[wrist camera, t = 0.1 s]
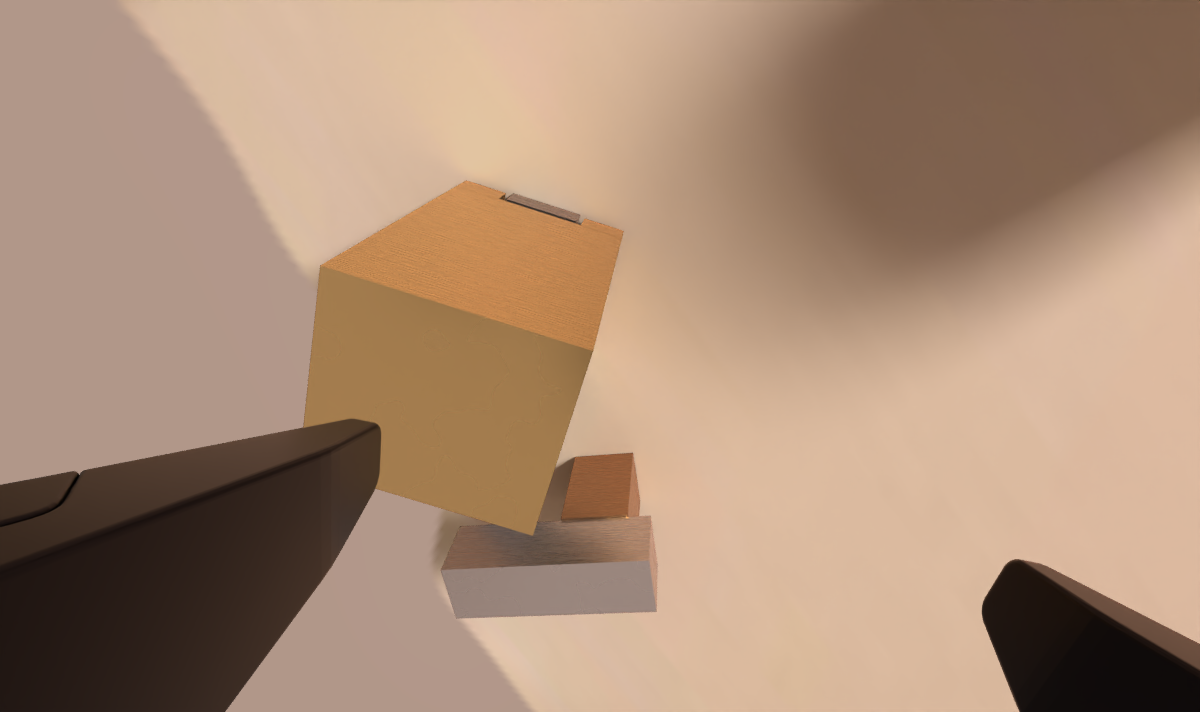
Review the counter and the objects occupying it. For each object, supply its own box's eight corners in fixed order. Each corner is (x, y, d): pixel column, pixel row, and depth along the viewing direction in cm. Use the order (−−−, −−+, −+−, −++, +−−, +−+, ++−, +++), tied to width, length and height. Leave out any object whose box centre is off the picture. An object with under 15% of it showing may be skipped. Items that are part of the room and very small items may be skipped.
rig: (513, 193, 22) (461, 237, 16) (755, 271, 22) (784, 339, 17) (443, 490, 27) (387, 598, 22) (636, 549, 28) (629, 669, 22)
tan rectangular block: (466, 180, 21) (320, 265, 12) (623, 230, 22) (592, 350, 13) (440, 311, 24) (299, 465, 15) (583, 356, 24) (532, 535, 15)
